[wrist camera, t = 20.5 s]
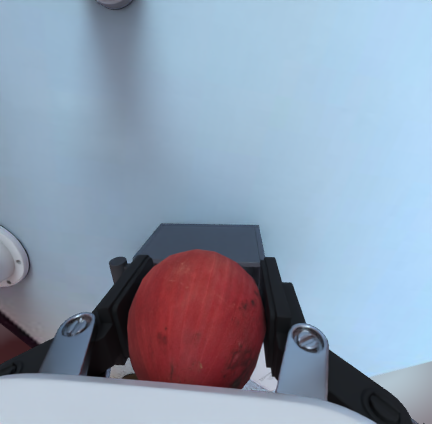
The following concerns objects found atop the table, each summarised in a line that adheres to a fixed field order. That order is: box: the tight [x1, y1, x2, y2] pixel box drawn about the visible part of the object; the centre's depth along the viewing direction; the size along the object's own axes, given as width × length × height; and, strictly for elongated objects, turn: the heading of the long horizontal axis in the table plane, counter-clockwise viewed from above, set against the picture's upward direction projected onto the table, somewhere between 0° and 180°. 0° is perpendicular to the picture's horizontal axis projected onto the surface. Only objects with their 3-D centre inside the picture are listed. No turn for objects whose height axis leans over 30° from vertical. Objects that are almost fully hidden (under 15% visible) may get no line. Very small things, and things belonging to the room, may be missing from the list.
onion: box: [127, 249, 266, 389], centre depth 9 cm, size 6×6×8 cm
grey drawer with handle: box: [109, 224, 265, 290], centre depth 29 cm, size 19×11×9 cm, turn 92°
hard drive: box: [250, 344, 278, 392], centre depth 39 cm, size 2×8×12 cm
